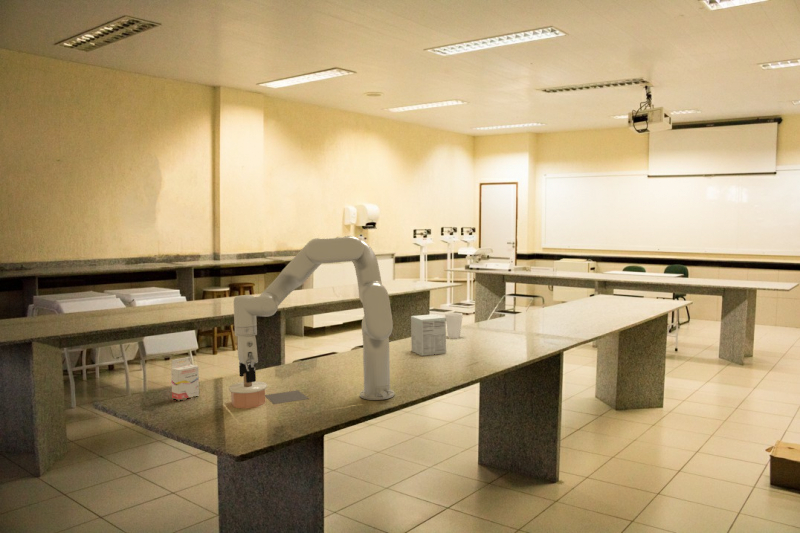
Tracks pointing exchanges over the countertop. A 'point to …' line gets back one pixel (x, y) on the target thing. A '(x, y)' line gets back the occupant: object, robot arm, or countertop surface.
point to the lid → (247, 386)
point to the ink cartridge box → (184, 379)
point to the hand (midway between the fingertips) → (247, 378)
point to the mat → (286, 397)
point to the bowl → (248, 399)
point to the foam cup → (453, 324)
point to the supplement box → (428, 334)
